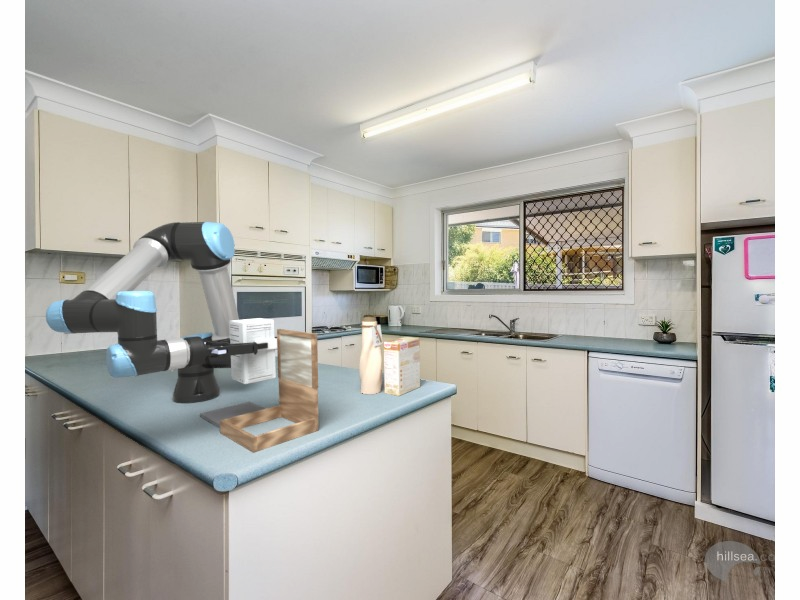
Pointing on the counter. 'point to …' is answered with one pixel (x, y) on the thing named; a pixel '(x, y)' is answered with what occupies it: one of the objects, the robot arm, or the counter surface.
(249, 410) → the mat
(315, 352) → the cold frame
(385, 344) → the coffeecake box
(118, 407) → the counter surface
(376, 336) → the water bottle
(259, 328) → the supplement box
